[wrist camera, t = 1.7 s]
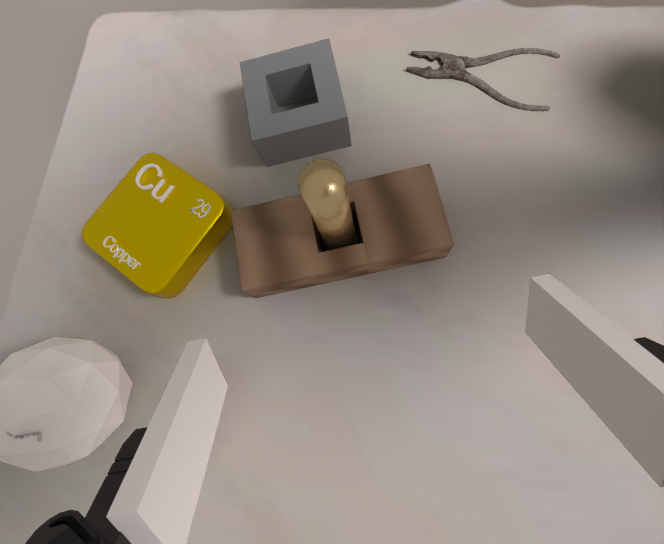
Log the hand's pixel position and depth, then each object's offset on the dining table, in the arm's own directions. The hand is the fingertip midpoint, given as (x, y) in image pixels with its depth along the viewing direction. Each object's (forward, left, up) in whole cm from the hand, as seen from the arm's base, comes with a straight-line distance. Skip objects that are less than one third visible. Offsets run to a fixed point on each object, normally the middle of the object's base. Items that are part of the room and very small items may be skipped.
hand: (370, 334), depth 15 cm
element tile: (+24, -21, -29) cm, 43 cm away
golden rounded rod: (+1, -14, -28) cm, 32 cm away
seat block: (+3, -33, -28) cm, 44 cm away
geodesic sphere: (+34, -1, -28) cm, 45 cm away
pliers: (-21, -32, -29) cm, 48 cm away
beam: (+1, -14, -28) cm, 32 cm away
